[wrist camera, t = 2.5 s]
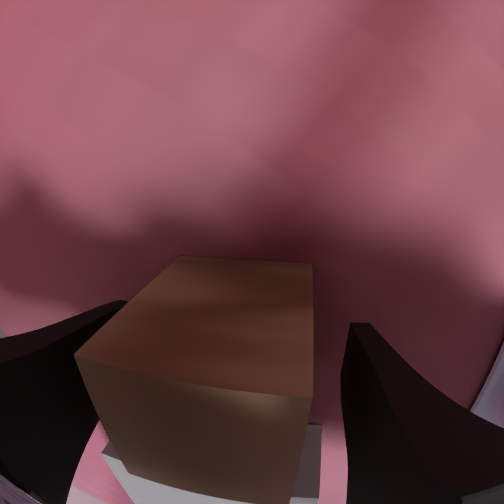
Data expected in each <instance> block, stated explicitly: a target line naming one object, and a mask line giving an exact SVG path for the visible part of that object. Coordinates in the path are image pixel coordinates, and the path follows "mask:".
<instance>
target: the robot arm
mask: <svg viewBox="0 0 504 504" xmlns="http://www.w3.org/2000/svg"><path fill="white" fill-rule="evenodd" d="M128 302H129V301H123V300H118V301H114V302H111V303H108V304H105V305H102V306H99V307H97V308H94V309H92V310H89V311H87V312H84V313H81V314H79V315H76V316H74V317H71V318H69V319H66V320H63V321H61V322H58V323H55V324H52V325H50V326H47V327H44V328H41V329H38V330H34V331H31V332H27V333H23V334H19V335H15V336H9V337H3V338H0V504H40V503H41V504H66V501H67V497H68V494H69V490H70V486H71V483H72V480H73V477H74V474H75V472H76V469H77V466H78V463H79V461H80V459H81V456H82V454H83V452H84V449H85V447H86V445H87V443H88V441H89V439H90V437H91V435H92V433H93V431H94V429H95V427H96V425H97V423H98V421H99V420H100V418H99V416H98V414H97V412H96V410H95V407H94V405H93V403H92V401H91V398H90V396H89V393H88V391H87V389H86V386H85V384H84V381H83V379H82V376H81V373H80V371H79V368H78V365H77V363H76V360H75V357H74V353H75V352H77V351H78V350H79V349H80V348H81V347H82V346H83V345H84V344H85V343H86V342H87V341H88V340H89V339H90V338H91V337H92V336H93V335H94V334H95V333H96V332H97V331H98V330H99V329H100V328H101V327H102V326H103V325H105V324H106V323H107V322H108V321H109V320H110V319H111V318H112V317H113V316H114V315H115V314H116V313H117V312H118V311H119V310H121V309H122V308H123V307H124V306H125V305H126V304H127V303H128ZM341 406H342V413H343V422H344V430H345V438H346V447H347V457H348V484H347V501H346V504H504V342H503V345H502V347H501V349H500V352H499V354H498V356H497V359H496V361H495V363H494V365H493V367H492V370H491V372H490V374H489V376H488V378H487V380H486V382H485V384H484V386H483V388H482V390H481V392H480V394H479V396H478V397H477V399H476V401H475V403H474V405H473V406H472V408H471V410H470V411H469V410H467V409H466V408H464V407H462V406H461V405H459V404H457V403H456V402H454V401H453V400H451V399H450V398H449V397H447V396H446V395H444V394H443V393H442V392H440V391H439V390H438V389H436V388H435V387H434V386H433V385H431V384H430V383H429V382H428V381H426V380H425V379H424V378H423V377H422V376H421V375H420V374H419V373H417V372H416V371H415V370H414V369H413V368H412V367H411V366H410V365H409V364H408V363H407V362H406V361H405V360H404V359H403V358H402V357H401V356H400V355H399V354H398V353H397V352H396V351H395V350H394V349H393V348H392V347H391V346H390V345H389V344H388V343H387V341H386V340H385V339H384V338H383V337H382V336H381V335H380V334H379V333H378V332H377V331H376V329H375V328H374V327H373V326H372V325H371V324H370V323H350V328H349V334H348V339H347V344H346V349H345V354H344V359H343V364H342V369H341ZM20 489H21V490H22V491H21V490H20ZM24 492H25V493H26V494H25V493H24ZM27 494H28V495H29V496H31V497H32V498H31V497H29V496H28V495H27ZM33 498H34V499H35V500H37V501H38V502H40V503H38V502H37V501H35V500H34V499H33Z"/></svg>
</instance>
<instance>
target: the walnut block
mask: <svg viewBox="0 0 504 504" xmlns="http://www.w3.org/2000/svg"><path fill="white" fill-rule="evenodd" d="M74 357H75V360H76V363H77V365H78V368H79V371H80V373H81V376H82V379H83V381H84V384H85V386H86V389H87V391H88V393H89V396H90V398H91V401H92V403H93V405H94V407H95V410H96V412H97V414H98V416H99V418H100V421H101V423H102V425H103V427H104V429H105V431H106V433H107V435H108V437H109V439H110V441H111V443H112V445H113V447H114V449H115V450H116V452H117V454H118V456H119V458H120V460H121V461H122V463H123V465H124V467H125V469H126V470H127V472H128V473H129V474H132V475H135V476H137V477H140V478H143V479H146V480H150V481H153V482H156V483H159V484H163V485H166V486H170V487H173V488H177V489H181V490H185V491H189V492H193V493H197V494H202V495H206V496H211V497H216V498H221V499H227V500H233V501H239V502H246V503H253V504H289V503H290V499H291V496H292V492H293V488H294V484H295V480H296V476H297V471H298V467H299V463H300V459H301V454H302V450H303V445H304V440H305V436H306V431H307V426H308V421H309V416H310V411H311V405H312V400H313V373H314V307H313V267H312V264H311V263H294V262H277V261H261V260H245V259H229V258H213V257H198V256H182V255H180V256H179V257H178V258H177V259H176V260H174V261H173V262H172V263H171V264H170V265H169V266H168V267H167V268H165V269H164V270H163V271H162V272H161V273H160V274H159V275H158V276H157V277H155V278H154V279H153V280H152V281H151V282H150V283H149V284H148V285H147V286H145V287H144V288H143V289H142V290H141V291H140V292H139V293H138V294H137V295H136V296H135V297H133V298H132V299H131V300H130V301H129V302H128V303H127V304H126V305H125V306H124V307H123V308H122V309H121V310H119V311H118V312H117V313H116V314H115V315H114V316H113V317H112V318H111V319H110V320H109V321H108V322H107V323H106V324H105V325H103V326H102V327H101V328H100V329H99V330H98V331H97V332H96V333H95V334H94V335H93V336H92V337H91V338H90V339H89V340H88V341H87V342H86V343H85V344H84V345H83V346H82V347H81V348H80V349H79V350H78V351H77V352H75V353H74Z"/></svg>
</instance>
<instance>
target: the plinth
mask: <svg viewBox="0 0 504 504" xmlns="http://www.w3.org/2000/svg"><path fill="white" fill-rule="evenodd" d="M321 433H322V425H309V424H308V426H307V431H306V436H305V440H304V445H303V450H302V454H301V459H300V463H299V467H298V471H297V476H296V480H295V484H294V488H293V492H292V496H291V499H290V503H289V504H317V501H318V499H319V488H320V467H321ZM102 455H103V457H104V458H105V460H106V462H107V463H108V465H109V467H110V468H111V470H112V471H113V473H114V474H115V476H116V478H117V479H118V481H119V482H120V484H121V485H122V487H123V488H124V489H125V491H126V492H127V494H128V495H129V497H130V498H131V499H132V501H133V502H134V503H135V504H253V503H246V502H239V501H233V500H227V499H221V498H216V497H211V496H206V495H202V494H197V493H193V492H189V491H185V490H181V489H177V488H173V487H170V486H166V485H163V484H159V483H156V482H153V481H150V480H146V479H143V478H140V477H137V476H135V475H132V474H129V473H128V472H127V470H126V469H125V467H124V465H123V463H122V461H121V460H120V458H119V456H118V454H117V452H116V450H115V449H114V447H113V445H112V443H111V441H110V440H109V442H108V443H107V445H106V446H105V448H104V450H103V451H102Z"/></svg>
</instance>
